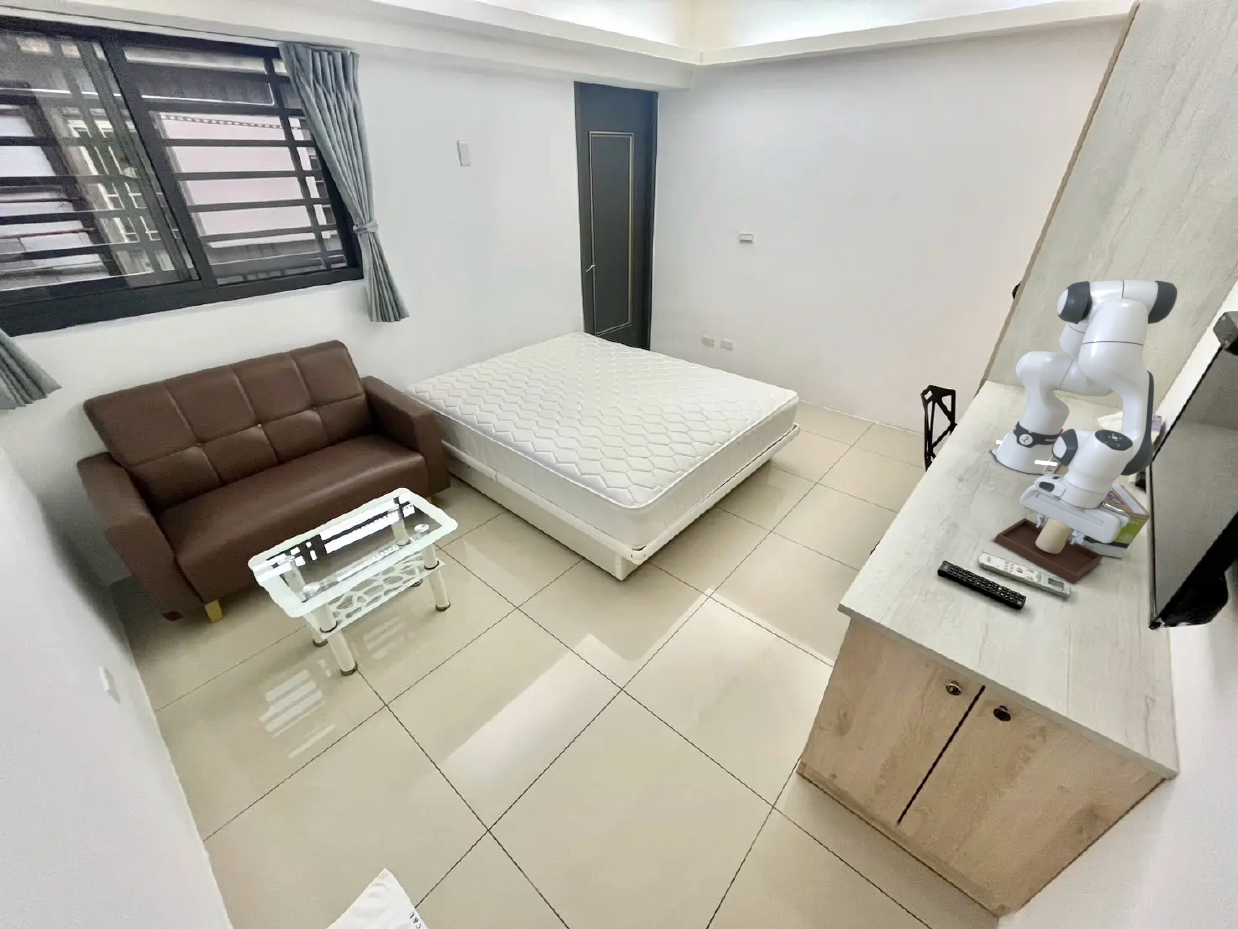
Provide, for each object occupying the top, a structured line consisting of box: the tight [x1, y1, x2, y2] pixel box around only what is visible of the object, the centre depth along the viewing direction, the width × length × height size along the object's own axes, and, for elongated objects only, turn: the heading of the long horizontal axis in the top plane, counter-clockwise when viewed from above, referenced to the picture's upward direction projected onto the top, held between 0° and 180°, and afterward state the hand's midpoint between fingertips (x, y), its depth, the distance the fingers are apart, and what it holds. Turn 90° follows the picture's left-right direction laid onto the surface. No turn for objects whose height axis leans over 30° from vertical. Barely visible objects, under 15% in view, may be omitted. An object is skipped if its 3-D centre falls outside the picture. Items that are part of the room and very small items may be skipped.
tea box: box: [1072, 483, 1152, 559], centre depth 132 cm, size 15×10×15 cm
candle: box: [1036, 518, 1074, 554], centre depth 128 cm, size 6×6×10 cm
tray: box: [993, 517, 1104, 584], centre depth 131 cm, size 15×19×3 cm
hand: (1054, 535), depth 128 cm, fingers closed on candle, 5 cm apart
